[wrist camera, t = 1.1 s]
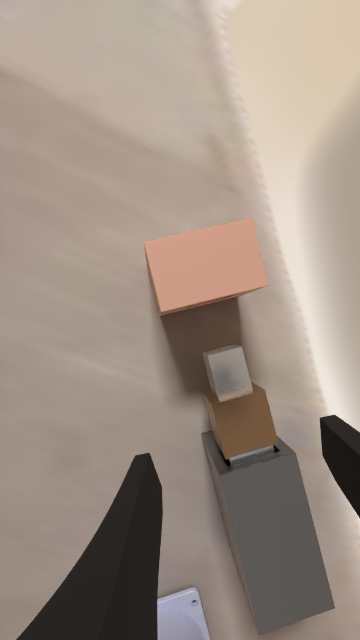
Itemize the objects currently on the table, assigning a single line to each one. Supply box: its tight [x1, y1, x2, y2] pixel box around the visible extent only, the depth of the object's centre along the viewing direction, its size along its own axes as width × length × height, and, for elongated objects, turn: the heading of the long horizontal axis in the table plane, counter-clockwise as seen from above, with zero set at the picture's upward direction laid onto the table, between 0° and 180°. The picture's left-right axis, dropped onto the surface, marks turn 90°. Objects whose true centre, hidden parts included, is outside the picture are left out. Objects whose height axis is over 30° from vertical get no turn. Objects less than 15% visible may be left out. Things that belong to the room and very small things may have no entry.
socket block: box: [144, 218, 269, 316], centre depth 21 cm, size 4×7×7 cm, turn 104°
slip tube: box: [202, 345, 278, 467], centre depth 20 cm, size 17×4×4 cm, turn 14°
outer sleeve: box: [201, 431, 335, 635], centre depth 21 cm, size 10×5×7 cm, turn 14°
